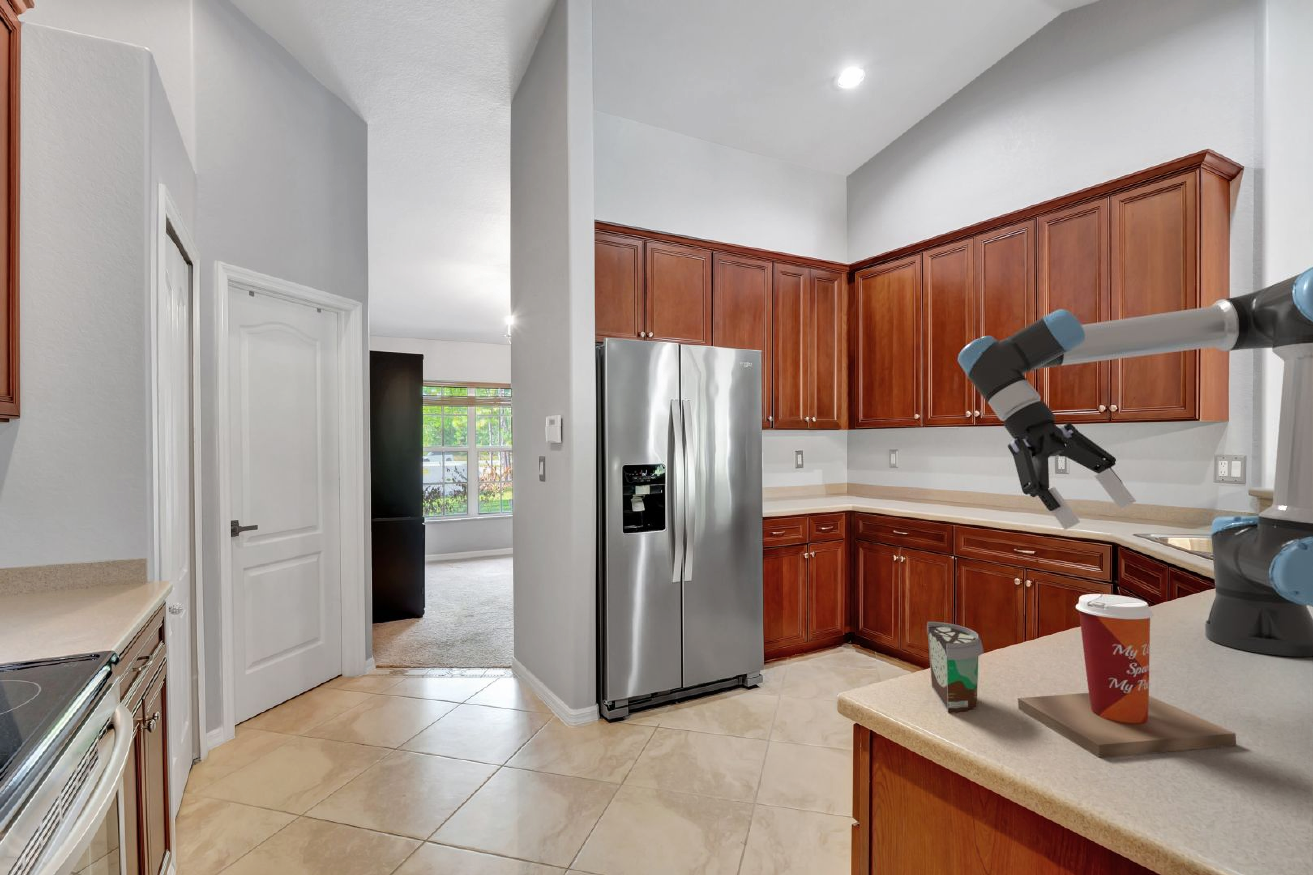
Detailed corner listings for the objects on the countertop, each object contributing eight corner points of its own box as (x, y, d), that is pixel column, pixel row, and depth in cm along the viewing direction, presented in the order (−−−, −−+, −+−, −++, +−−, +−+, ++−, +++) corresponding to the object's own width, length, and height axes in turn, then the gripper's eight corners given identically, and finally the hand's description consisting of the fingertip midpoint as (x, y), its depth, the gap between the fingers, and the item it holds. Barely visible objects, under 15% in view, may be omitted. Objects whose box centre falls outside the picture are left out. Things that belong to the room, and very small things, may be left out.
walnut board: (1135, 699, 87) (1134, 689, 87) (1236, 745, 74) (1235, 733, 74) (1018, 708, 86) (1017, 697, 86) (1099, 757, 72) (1098, 744, 72)
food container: (999, 719, 83) (995, 646, 83) (951, 717, 84) (947, 644, 84) (971, 685, 95) (968, 621, 95) (929, 684, 96) (926, 620, 96)
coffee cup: (1135, 733, 74) (1129, 610, 75) (1067, 708, 82) (1061, 597, 82) (1173, 719, 78) (1167, 602, 78) (1104, 696, 85) (1099, 590, 86)
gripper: (1055, 409, 116) (1131, 505, 107) (957, 437, 108) (1031, 544, 99) (1085, 386, 110) (1169, 486, 101) (984, 414, 102) (1065, 525, 93)
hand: (1101, 515), depth 100 cm, fingers open, 13 cm apart
